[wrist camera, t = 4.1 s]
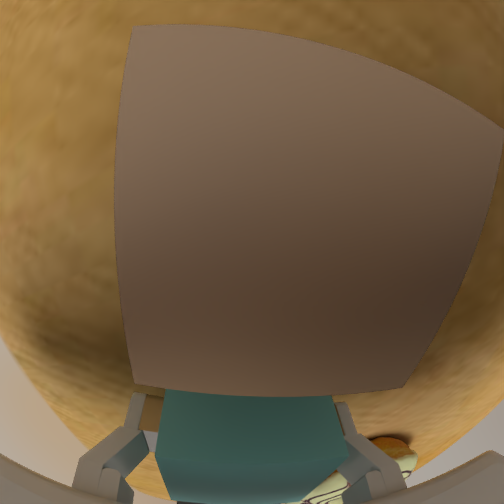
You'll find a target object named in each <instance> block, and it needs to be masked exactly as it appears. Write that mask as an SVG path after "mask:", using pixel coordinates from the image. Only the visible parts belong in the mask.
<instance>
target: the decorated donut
mask: <svg viewBox="0 0 504 504" xmlns="http://www.w3.org/2000/svg"><path fill="white" fill-rule="evenodd" d="M370 442H372V443H373V444H374V445H375V446H377V447H378V448H379V449H380V450H382V451H383V452H384V453H385V454H387V455H388V456H389V457H391V458H392V459H393V460H394V461H396V462H397V463H398V464H399V466H400V469H401V472H402V475H403V477H404V480H406V479H407V478H408V477H409V476H410V474H411V473H412V471H413V470H414V468H415V466H416V463H417V458H418V455H417V453H416V452H415V451H414V450H411V449H410V448H409V446H408V445H406V444H405V443H404V442H402V441H401V440H399V439H394V438H391V437H386V438H385V437H378V438H375V439H373V440H371V441H370ZM350 486H351V484H350V483H349V482H348V481H347V480H346V479H345V478H344V477H343V476H342V475H341V474H340V473H339V472H338V471H337V469H336V470H335V471H334V472H333V473H332V474H331V475H329V476H328V477H327V478H326V479H325V480H324V481H323V482H322V483H321V484H320V485H319V486H317V487H316V488H315V489H314V490H313V491H312V492H311V493H309V494H308V495H307V496H306V497H305V498H303V499H302V500H301V501H300V502H292V503H285V504H343V500H342V496H341V494H342V493H343V491H345V490H346V489H347V488H349V487H350Z"/></svg>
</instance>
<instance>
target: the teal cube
mask: <svg viewBox="0 0 504 504" xmlns="http://www.w3.org/2000/svg"><path fill="white" fill-rule="evenodd" d="M348 457H349V453H348V449H347V446H346V442H345V439H344V436H343V432H342V429H341V426H340V422H339V419H338V416H337V412H336V409H335V406H334V402H333V399H332V396H331V395H329V396H306V397H258V396H235V395H220V394H208V393H197V392H188V391H180V390H172V389H166V391H165V396H164V402H163V407H162V413H161V419H160V425H159V431H158V437H157V443H156V450H155V458H156V461H157V464H158V467H159V470H160V472H161V475H162V478H163V480H164V483H165V485H166V488H167V491H168V493H169V495H170V498H171V500H175V501H183V502H193V503H204V504H281V503H292V502H300V501H301V500H302V499H303V498H305V497H306V496H307V495H308V494H309V493H311V492H312V491H313V490H314V489H315V488H316V487H317V486H319V485H320V484H321V483H322V482H323V481H324V480H325V479H326V478H327V477H328V476H329V475H331V474H332V473H333V472H334V471H335V470H336V469H337V468H338V467H339V466H340V465H341V464H342V463H343V462H344V461H345V460H346V459H347V458H348Z"/></svg>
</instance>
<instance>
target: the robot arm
mask: <svg viewBox="0 0 504 504" xmlns="http://www.w3.org/2000/svg"><path fill="white" fill-rule="evenodd" d="M163 402H164V397H161V396H155V395H149V394H144V393H139V392H134V393H133V394H132V397H131V401H130V404H129V408H128V412H127V415H126V419H125V423H124V427H122V426H119V427H118V428H117V429H116V430H115V431H113V432H112V433H111V434H110V435H108V436H107V437H106V438H105V439H103V440H102V441H101V442H100V443H98V444H97V445H96V446H95V447H93V448H92V449H91V450H89V451H88V452H87V453H86V454H84V455H83V456H82V457H81V458H80V459H79V462H78V466H77V469H76V473H75V477H74V481H73V484H72V487H69V486H67V485H64V484H62V483H59V482H57V481H54V480H52V479H49V478H47V477H45V476H43V475H40V474H38V473H36V472H34V471H32V470H30V469H28V468H26V467H24V466H22V465H20V464H18V463H16V462H14V461H13V460H11V459H9V458H7V457H5V456H4V455H2V454H0V504H133V496H134V491H133V490H132V489H131V487H130V486H129V485H128V483H127V482H126V481H125V478H126V477H127V476H128V475H129V474H130V473H131V472H132V470H133V469H134V468H135V467H136V466H137V465H138V464H139V463H140V462H141V461H142V460H143V459H144V458H145V457H146V456H147V455H148V454H149V451H151V452H155V450H156V443H157V437H158V431H159V425H160V419H161V413H162V407H163ZM334 406H335V409H336V412H337V416H338V419H339V422H340V426H341V429H342V432H343V436H344V439H345V442H346V446H347V449H348V453H349V457H348V458H347V459H346V460H345V461H344V462H343V463H342V464H341V465H340V466H339V467H338V468H337V471H338V472H339V473H340V474H341V475H342V476H343V477H344V478H345V479H346V480H347V481H348V482H349V483H350V484H351V486H350V487H349V488H347V489H346V490H345V491H343V493H342V494H341V496H342V500H343V504H504V456H502V455H500V454H499V453H497V452H495V451H492V450H489V451H486V452H484V453H482V454H481V455H479V456H477V457H475V458H474V459H472V460H470V461H468V462H466V463H465V464H462V465H460V466H458V467H456V468H454V469H452V470H450V471H448V472H446V473H444V474H442V475H440V476H437V477H435V478H432V479H430V480H428V481H426V482H423V483H420V484H418V485H415V486H412V487H410V488H407V486H406V483H405V480H404V477H403V475H402V472H401V469H400V466H399V464H398V463H397V462H396V461H394V460H393V459H392V458H391V457H389V456H388V455H387V454H385V453H384V452H383V451H382V450H380V449H379V448H378V447H377V446H375V445H374V444H373V443H372V442H370V441H369V440H368V439H367V438H366V437H364V436H363V435H362V434H357V431H356V428H355V425H354V422H353V419H352V416H351V413H350V410H349V407H348V405H347V403H346V402H336V403H334Z"/></svg>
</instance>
